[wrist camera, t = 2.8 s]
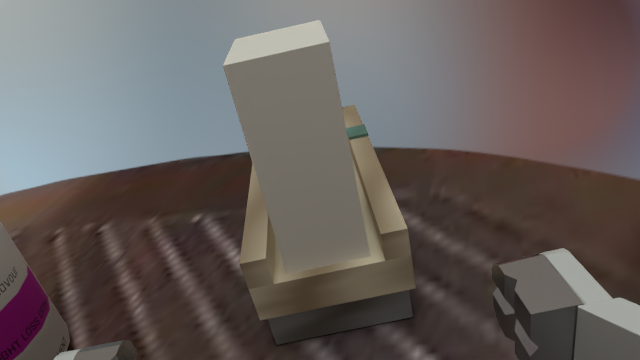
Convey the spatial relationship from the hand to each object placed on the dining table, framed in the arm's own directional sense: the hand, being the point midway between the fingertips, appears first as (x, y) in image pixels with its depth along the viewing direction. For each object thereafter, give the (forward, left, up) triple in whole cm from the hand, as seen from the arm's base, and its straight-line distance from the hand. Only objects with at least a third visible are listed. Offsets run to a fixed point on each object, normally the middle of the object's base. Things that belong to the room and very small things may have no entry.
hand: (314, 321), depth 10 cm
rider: (0, +12, -6) cm, 14 cm away
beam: (0, +18, -10) cm, 20 cm away
